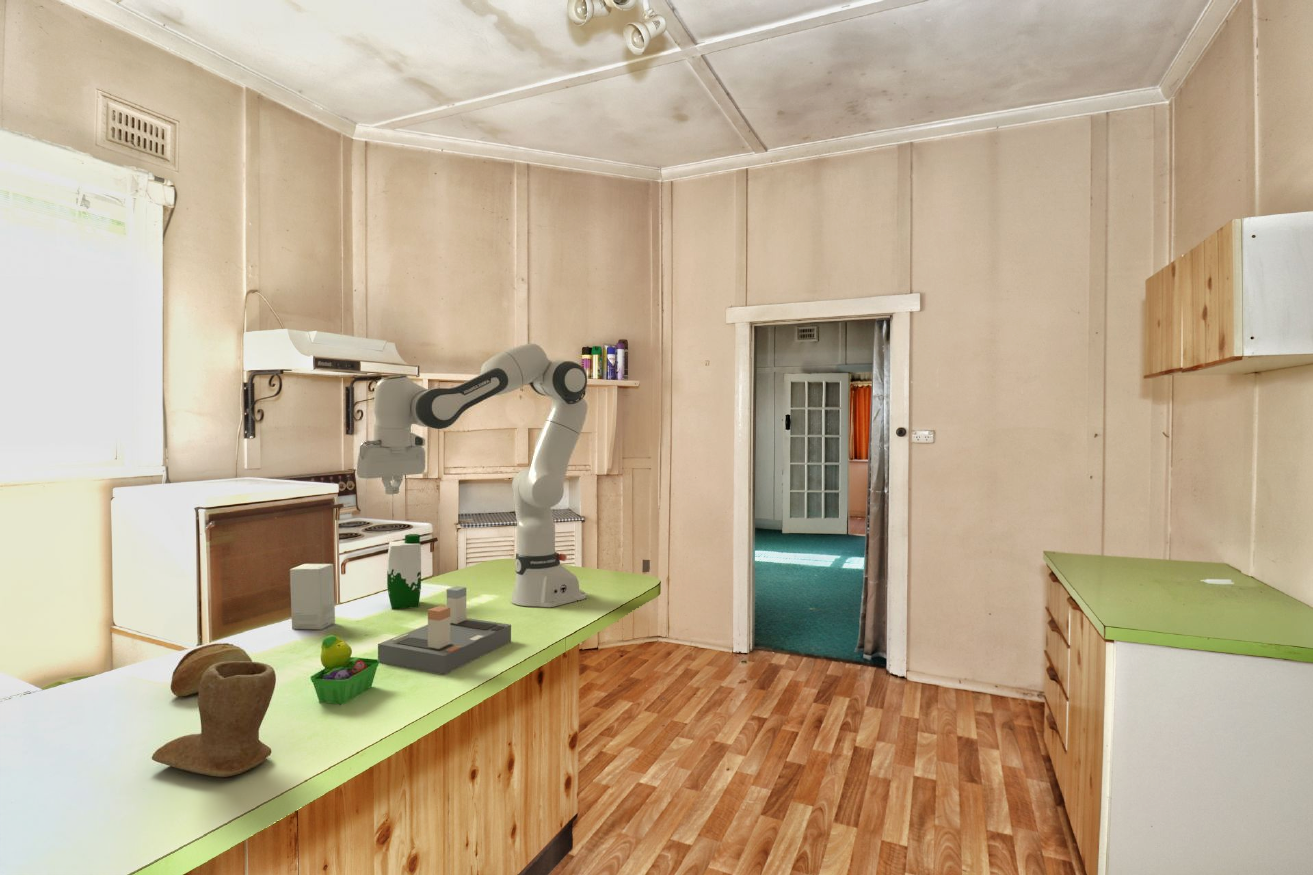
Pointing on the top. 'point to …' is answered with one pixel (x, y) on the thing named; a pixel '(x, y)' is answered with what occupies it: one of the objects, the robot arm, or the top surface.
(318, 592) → the skincare box
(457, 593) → the switch
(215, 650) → the bread roll
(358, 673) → the fruit basket
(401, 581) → the milk carton
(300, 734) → the top surface
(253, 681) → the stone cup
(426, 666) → the console
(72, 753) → the top surface
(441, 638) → the switch
